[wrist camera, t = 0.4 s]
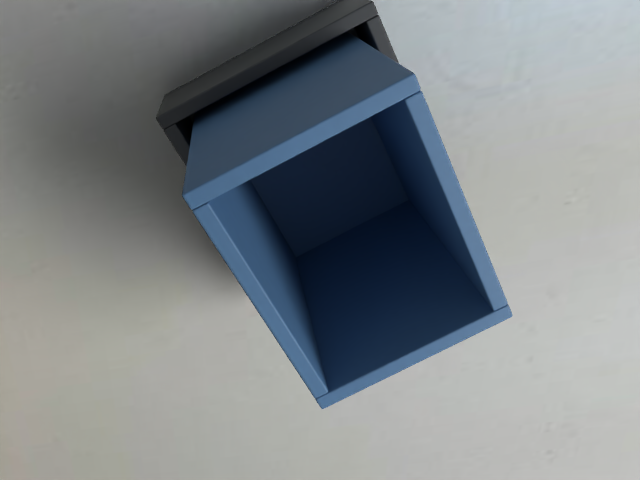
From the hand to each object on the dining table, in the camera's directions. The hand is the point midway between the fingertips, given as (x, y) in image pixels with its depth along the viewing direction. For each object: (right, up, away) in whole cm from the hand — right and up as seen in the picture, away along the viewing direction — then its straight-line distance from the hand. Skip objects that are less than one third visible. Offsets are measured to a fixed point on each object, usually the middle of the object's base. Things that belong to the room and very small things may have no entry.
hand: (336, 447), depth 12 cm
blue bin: (-1, +8, +20) cm, 21 cm away
